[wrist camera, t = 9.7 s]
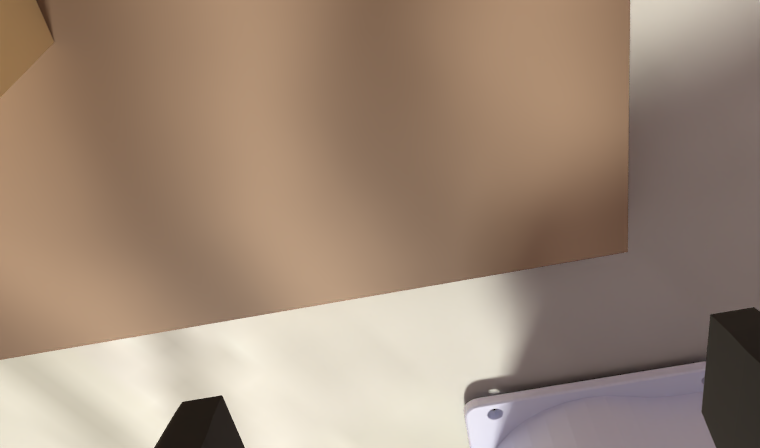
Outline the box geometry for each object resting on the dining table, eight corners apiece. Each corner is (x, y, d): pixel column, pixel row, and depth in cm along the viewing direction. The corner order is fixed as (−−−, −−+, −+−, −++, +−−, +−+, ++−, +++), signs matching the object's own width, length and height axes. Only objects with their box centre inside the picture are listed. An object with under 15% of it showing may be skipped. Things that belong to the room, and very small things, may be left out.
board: (604, -583, 12) (635, -622, 11) (610, 221, 21) (627, 251, 19) (-608, -289, 13) (-707, -293, 12) (-119, 348, 22) (-147, 384, 21)
